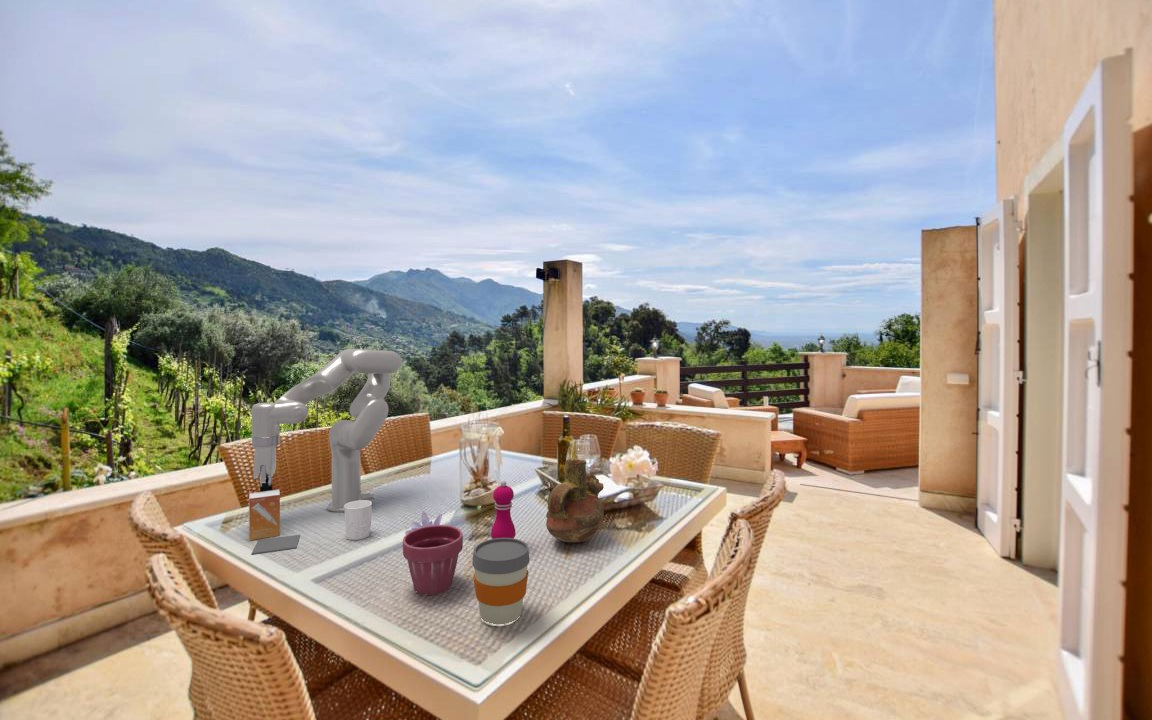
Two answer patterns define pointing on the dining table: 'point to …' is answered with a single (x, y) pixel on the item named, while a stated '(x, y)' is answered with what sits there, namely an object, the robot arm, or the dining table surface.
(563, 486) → the ceramic vessel
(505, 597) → the reusable coffee cup
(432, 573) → the plant pot
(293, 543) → the mat
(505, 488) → the pepper mill
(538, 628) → the dining table surface
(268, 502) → the small box
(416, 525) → the water lily
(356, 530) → the white cup
